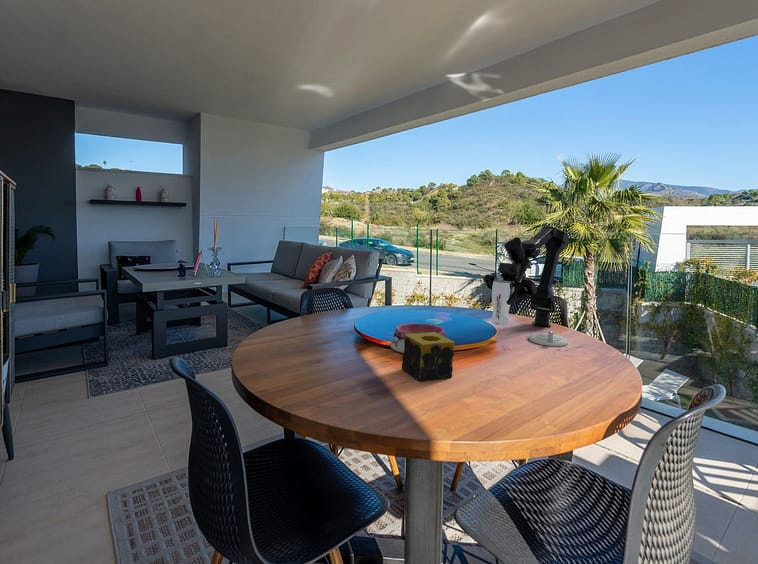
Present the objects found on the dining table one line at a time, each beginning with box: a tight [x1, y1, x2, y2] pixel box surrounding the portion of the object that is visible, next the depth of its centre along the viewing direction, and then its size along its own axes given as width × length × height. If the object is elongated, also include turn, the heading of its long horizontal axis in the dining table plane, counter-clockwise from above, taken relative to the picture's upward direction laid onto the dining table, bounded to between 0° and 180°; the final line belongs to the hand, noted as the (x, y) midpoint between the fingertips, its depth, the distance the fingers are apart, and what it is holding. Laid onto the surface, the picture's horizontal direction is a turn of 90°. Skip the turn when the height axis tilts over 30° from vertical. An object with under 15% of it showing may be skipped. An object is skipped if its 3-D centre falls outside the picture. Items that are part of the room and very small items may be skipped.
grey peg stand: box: [528, 331, 569, 348], centre depth 148 cm, size 13×13×5 cm
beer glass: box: [490, 279, 514, 326], centre depth 147 cm, size 7×7×15 cm
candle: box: [401, 332, 456, 383], centre depth 110 cm, size 10×10×10 cm
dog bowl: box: [389, 322, 447, 356], centre depth 133 cm, size 18×19×7 cm
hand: (499, 302), depth 146 cm, fingers closed on beer glass, 7 cm apart
